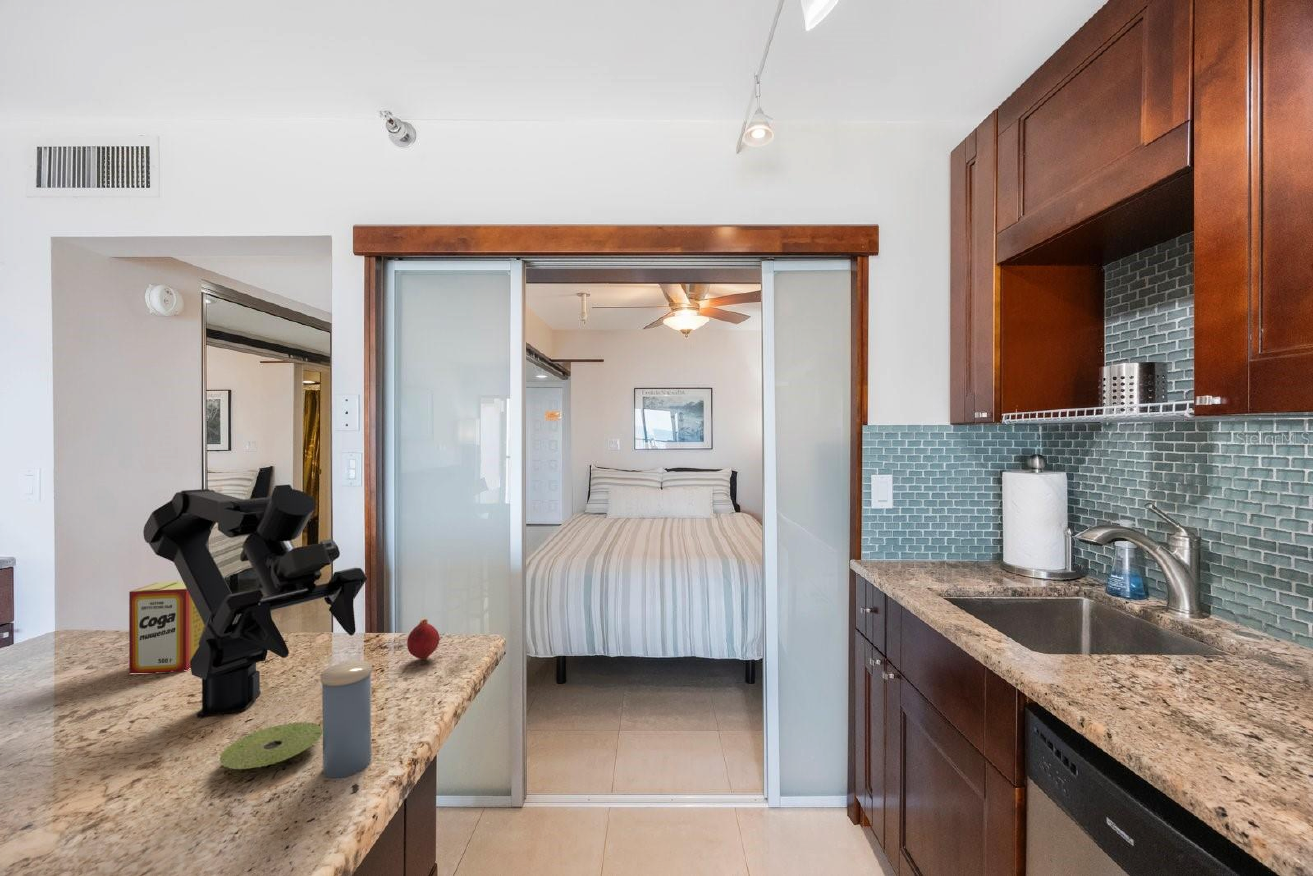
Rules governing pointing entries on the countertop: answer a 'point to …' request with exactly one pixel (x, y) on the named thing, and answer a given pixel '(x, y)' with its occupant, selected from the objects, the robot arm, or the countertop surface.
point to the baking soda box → (162, 628)
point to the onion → (423, 640)
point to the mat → (270, 745)
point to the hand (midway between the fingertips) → (321, 644)
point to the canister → (346, 718)
